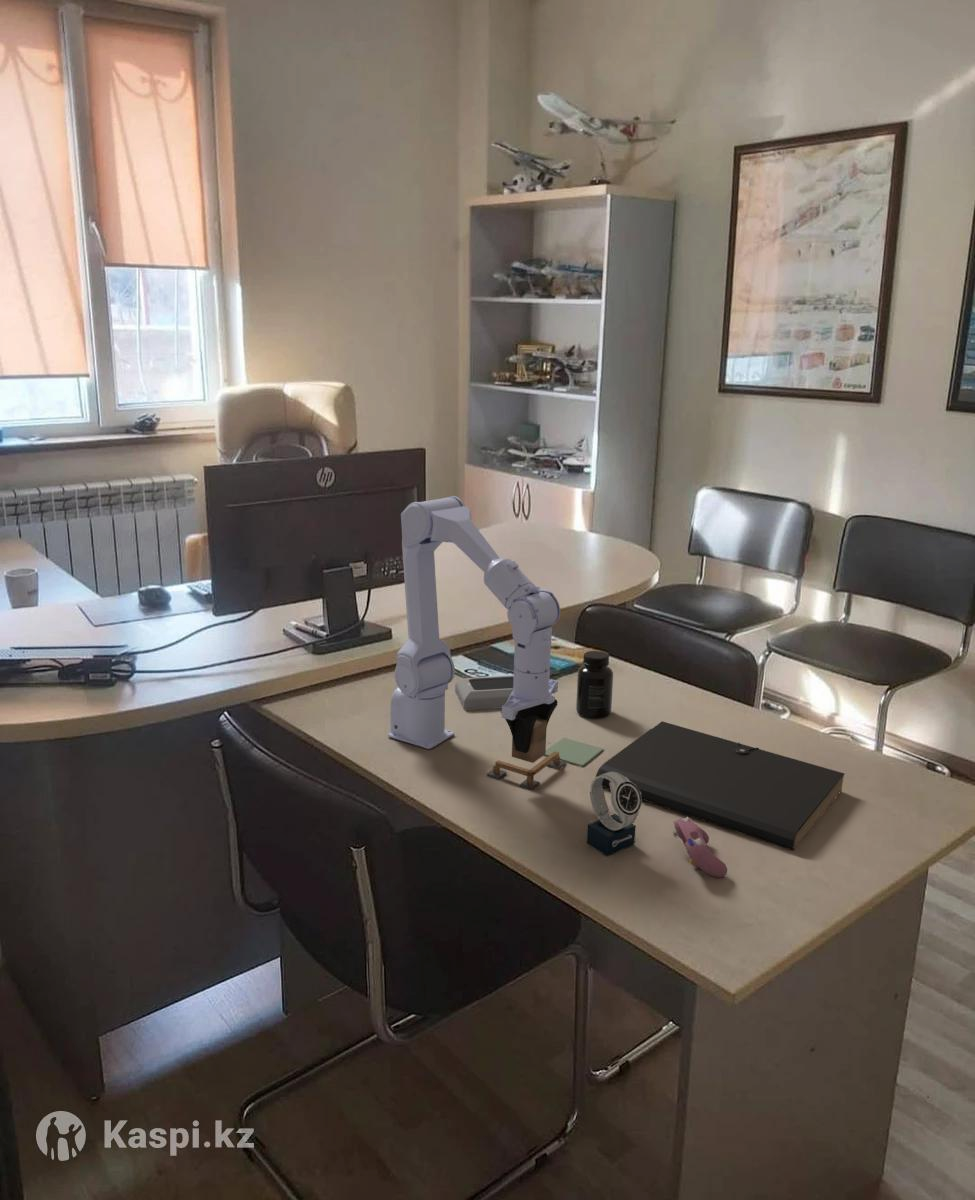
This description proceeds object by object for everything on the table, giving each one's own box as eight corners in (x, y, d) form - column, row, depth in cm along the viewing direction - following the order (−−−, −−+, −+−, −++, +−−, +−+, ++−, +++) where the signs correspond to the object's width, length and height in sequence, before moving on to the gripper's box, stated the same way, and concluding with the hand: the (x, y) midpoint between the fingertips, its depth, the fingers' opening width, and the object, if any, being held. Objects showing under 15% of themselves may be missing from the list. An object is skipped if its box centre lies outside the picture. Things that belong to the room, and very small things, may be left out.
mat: (541, 754, 172) (541, 753, 171) (563, 739, 178) (563, 737, 178) (582, 766, 167) (582, 765, 167) (603, 750, 174) (603, 748, 174)
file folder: (845, 771, 160) (794, 832, 142) (842, 793, 162) (791, 857, 143) (662, 718, 179) (596, 767, 160) (660, 739, 180) (594, 790, 161)
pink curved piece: (681, 852, 145) (663, 815, 143) (709, 839, 145) (692, 801, 143) (701, 890, 136) (682, 851, 133) (731, 876, 135) (713, 837, 133)
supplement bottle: (617, 711, 191) (620, 653, 187) (601, 722, 185) (605, 663, 182) (585, 703, 194) (588, 646, 191) (569, 714, 189) (572, 655, 185)
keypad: (539, 689, 192) (464, 694, 189) (538, 707, 193) (463, 711, 190) (527, 672, 201) (455, 676, 198) (526, 689, 202) (455, 693, 199)
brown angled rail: (486, 775, 164) (486, 761, 163) (521, 751, 173) (521, 738, 172) (532, 790, 159) (533, 776, 158) (565, 764, 168) (566, 751, 167)
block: (511, 756, 159) (512, 722, 157) (524, 747, 162) (525, 714, 160) (533, 763, 157) (534, 728, 155) (545, 754, 160) (546, 720, 158)
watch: (616, 862, 139) (621, 792, 136) (578, 838, 145) (582, 770, 142) (644, 850, 142) (649, 781, 139) (605, 827, 148) (609, 761, 145)
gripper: (530, 686, 147) (527, 768, 151) (575, 659, 159) (571, 736, 163) (491, 676, 151) (489, 757, 154) (537, 650, 162) (534, 726, 166)
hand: (528, 745), depth 159 cm, fingers closed on block, 4 cm apart
